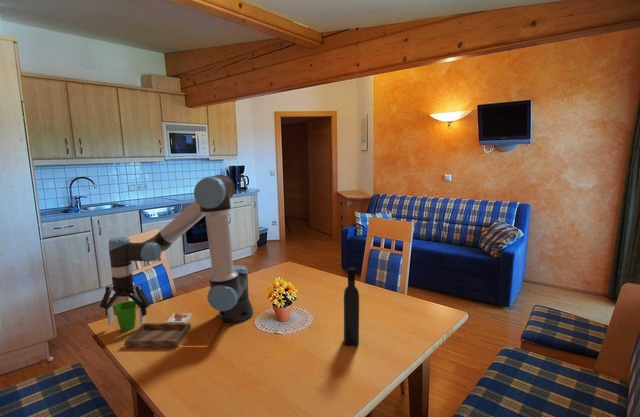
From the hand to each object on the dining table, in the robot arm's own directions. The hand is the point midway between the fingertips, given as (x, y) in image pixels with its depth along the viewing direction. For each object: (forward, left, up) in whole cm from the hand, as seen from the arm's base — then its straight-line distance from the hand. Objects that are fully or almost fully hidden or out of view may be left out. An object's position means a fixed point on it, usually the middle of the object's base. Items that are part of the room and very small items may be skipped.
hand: (127, 322), depth 147 cm
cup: (0, 0, -3) cm, 3 cm away
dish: (-19, -7, -3) cm, 21 cm away
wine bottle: (-94, +10, -3) cm, 95 cm away
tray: (-17, +7, -3) cm, 19 cm away
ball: (-19, -7, -2) cm, 20 cm away
